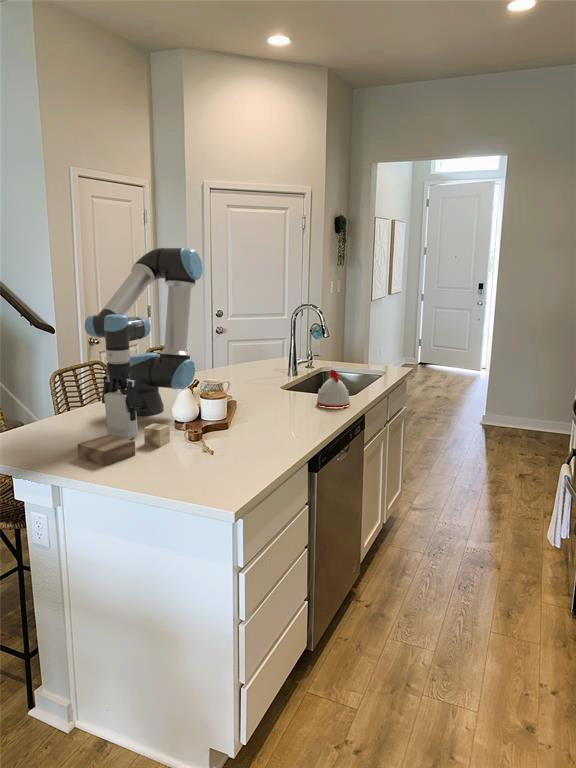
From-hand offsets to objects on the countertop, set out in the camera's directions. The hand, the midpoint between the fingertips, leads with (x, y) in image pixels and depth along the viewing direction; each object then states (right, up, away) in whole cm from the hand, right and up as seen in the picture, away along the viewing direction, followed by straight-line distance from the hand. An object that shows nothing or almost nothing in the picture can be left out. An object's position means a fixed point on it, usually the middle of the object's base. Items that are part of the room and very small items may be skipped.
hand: (121, 426), depth 199 cm
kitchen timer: (+76, +5, +52) cm, 92 cm away
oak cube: (+13, -5, -3) cm, 14 cm away
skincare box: (0, -4, +1) cm, 4 cm away
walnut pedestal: (0, -8, -17) cm, 19 cm away
